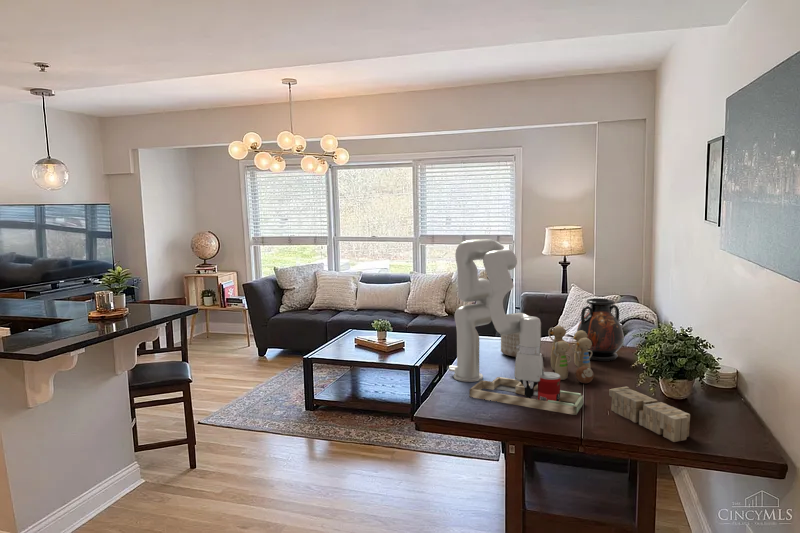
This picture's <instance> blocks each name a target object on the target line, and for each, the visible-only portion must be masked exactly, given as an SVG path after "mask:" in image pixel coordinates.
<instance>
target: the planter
mask: <svg viewBox="0 0 800 533" xmlns="http://www.w3.org/2000/svg"><path fill="white" fill-rule="evenodd" d="M540 343H541V344H542V326H541V327H540ZM519 344H520V333H513V334H508V335H502V334H500V352H501V353H502V354H504V355H507V356H510V357H513V358H516V356H517V352H519V349H516V345H519ZM541 349H542V347H541V348H540V353H541V354H542V352H541V351H542V350H541Z"/></svg>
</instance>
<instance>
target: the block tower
mask: <svg viewBox="0 0 800 533" xmlns="http://www.w3.org/2000/svg"><path fill="white" fill-rule="evenodd" d="M608 393H609V394H608V396H609V397H611V407H610V408H611V409H610V410H611V412H614V413H615V414H616V415H619V416H621V417H623V418H625V419H627V420H630V421H632V422H633V423H635V424H636V423H638V426H641V427H643V428H646V429H648V430H649V431H652V432H653V433H655V434H657V435H662V437H664V438H666V439H667V440H669V441H671V442H673V443H676V442H681V441H687V438H689V437H690V425H691V424H690V421H691V414H690V413H688V412H685V411H684V410H681V409H679V408H677V407H674V406H671V405H669V404H667V403H665V402H662V401H660V402H659V401H658V399H656V398H653V397H650V396H648V395H646V394H644V393H641V392H639V391H636V390H633V389H631V388H630V387H629V386H622V387H621V386H620V387H615V388H611V389H610V388H609V391H608Z"/></svg>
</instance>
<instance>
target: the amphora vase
mask: <svg viewBox="0 0 800 533" xmlns="http://www.w3.org/2000/svg"><path fill="white" fill-rule="evenodd" d="M586 303H587V304H588V305H589V306H588V305H585V306H583V307H582V309H581V312H580V314H581V315H580V322H579V324H578V326H577V328H576V332H577V331H580V330H582V331H584V332H586V333H587V335H588V337H587V338H588V339H589V340H590V341H591V342H592V346H591V348H590V349H588V350H591V351H592V356H591V357H590V360H591V361H597V362H611V361H614V360H616V359H617V358H618V357H619V356H618V353H617V352H618V351H619V350H620V349H621V348H622V346H623V343H624V339H625V338H624V337H625V336H624V330H623V327H622V325H621V323H620V309H619V307H618V305H616V304H615V303H616V302H615V300H614V299H613V300H612V299H609V298H599V297H597V298H596V297H595V298H589V299H587V300H586ZM613 309H614V310H615V315H614V314H612V310H613ZM586 310H588V311H589V312H587V314H586ZM585 314H586V315H585ZM588 353H589V356H590V355H591V352H588ZM610 360H611V361H610Z"/></svg>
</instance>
